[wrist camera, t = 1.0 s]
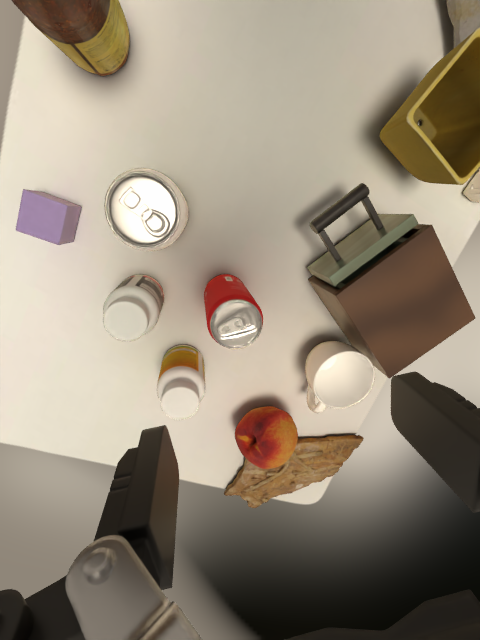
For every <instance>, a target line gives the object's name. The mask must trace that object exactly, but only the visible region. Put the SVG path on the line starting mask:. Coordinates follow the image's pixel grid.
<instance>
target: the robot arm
mask: <svg viewBox="0 0 480 640" xmlns="http://www.w3.org/2000/svg"><path fill="white" fill-rule="evenodd" d="M391 416H392V420H393V422H394V425H395V426H396V428H397V430H398V431H399V432H400V433H401V434H402V435H403V436H404V437H405V439H406V440H407V441H408V442H409V443H410V444H411V445H412V446H413V447H414V448H415V449H416V450H417V452H418V453H419V454H420V455H421V456H422V457H423V458H424V459H425V460H426V461H427V463H428V464H429V465H430V466H431V467H432V468H433V469H434V470H435V471H436V472H437V473H438V475H439V476H440V477H441V478H442V479H443V480H444V481H445V482H446V483H447V484H448V485H449V487H450V488H451V489H452V490H453V491H454V492H455V493H456V494H457V495H458V496H459V497H460V499H461V500H462V501H463V502H464V503H465V504H466V505H467V506H468V507H469V508H470V510H471V511H472V512H479V511H480V408H477V407H476V406H475V405H474V404H473V403H471V402H470V401H468V400H467V401H466V399H465V398H464V397H462V396H461V395H460V394H458V393H457V392H456V391H454V390H453V389H450V388H448V387H445V386H443V385H440V384H438V383H435V382H434V383H432V382H430V381H429V380H427V379H426V378H425V377H423V376H422V375H420V374H419V373H417V372H410V373H406V374H401V375H397V376H393V377H392V380H391ZM178 487H179V470H178V463H177V459H176V456H175V452H174V449H173V446H172V442H171V439H170V436H169V432H168V429H167V427H166V426H165V425H164V426H159V427H154V428H150V429H145V430H143V431H142V433H141V437H140V441H139V445H138V447H137V448H132V449H128V450H127V452H126V453H125V454H124V456H123V457H122V458H121V460H120V461H119V462H118V465H117V468H116V471H115V475H114V480H113V481H112V484H111V487H110V492H109V494H108V497H107V500H106V503H105V507H104V510H103V513H102V517H101V520H100V523H99V526H98V529H97V533H96V536H95V539H94V542H93V543H91V544H90V545H89V546H87V547H86V548H85V549H84V550H83V551H82V552H81V553H80V554H79V555H78V557H77V558H76V559H75V560H74V562H73V564H72V565H71V567H70V569H69V572H68V574H67V575H66V576H65V577H63V578H62V579H60V580H59V581H57V582H55V583H53V584H51V585H50V586H48V587H46V588H44V589H43V590H41V591H39V592H37V593H35V594H33V595H32V596H30V597H28V598H26V599H24V598H23V597H22V595H21V594H20V593H19V592H18V591H16V590H12V589H8V590H2V591H0V640H202V638H201V637H200V635H199V634H198V632H197V631H196V630H195V628H194V627H193V625H192V624H191V623H190V621H189V620H188V618H187V617H186V616H185V614H184V613H183V611H182V610H181V609H180V608H179V606H178V605H177V604H176V603H175V602H172V603H171V602H170V601H169V600H168V599H167V598H166V596H165V595H164V593H163V592H162V590H164V589H167V588H172V579H173V564H174V549H175V531H176V517H177V503H178ZM284 640H480V603H479V601H478V600H477V598H476V597H475V596H474V594H473V593H472V591H471V590H466V591H462V592H458V593H455V594H451V595H447V596H443V597H440V598H436V599H433V600H429V601H425V602H424V603H422V604H421V605H420V606H418V607H417V608H416V609H414V610H413V611H412V612H410V613H409V614H408V615H406V616H405V617H404V618H402V619H401V620H400V621H398V622H397V623H396V624H394V625H393V626H392V627H390V628H389V629H387V630H384V631H373V630H358V629H344V628H325V629H321V630H318V631H314V632H310V633H307V634H303V635H299V636H296V637H292V638H288V639H284Z"/></svg>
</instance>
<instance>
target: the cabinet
mask: <svg viewBox="0 0 480 640" xmlns="http://www.w3.org/2000/svg"><path fill="white" fill-rule="evenodd" d="M401 237H404V238H408V239H407V240H405V241H404V242H403V243H401V244H400V245H399V246H397V247H396V248H394V249H393V250H392V251H390V252H389V253H388V254H386V255H385V256H384V257H382V258H381V259H380V260H378V261H377V262H376V263H374V264H373V265H372V266H370V267H369V268H368V269H366V270H365V271H363V272H362V273H361V274H359V275H358V276H357V277H355V278H354V279H353V280H351V281H350V282H349V283H347V284H346V285H345V286H343V287H342V288H341V289H339V290H338V289H336V288H335V287H333V286H331V285H329V284H327V283H325V282H324V281H323V280H321V279H319V278H318V277H316V276H314V275H313V276H312V277H311V278H309V279H308V281H309V282H310V284H311V285H312V287H313V288H314V290H315V291H316V293H317V294H318V296H319V297H320V299H321V300H322V302H323V303H324V305H325V306H326V308H327V309H328V310H329V312H330V313H331V315H332V316H333V318H334V319H335V321H336V322H337V324H338V325H339V327H340V328H341V330H342V331H343V333H344V334H345V336H346V337H347V339H348V340H349V342H350V343H351V345H352V346H353V347H354V348H356V349H358V350H359V351H360V352H362V353H363V354H364V355H365V356H366V357H367V358H368V359H369V360H370V361H371V362H372V364H373V365H374V366H375V367H376V368H378V369H379V370H380V371H381V372H382V373H383V374H385V375H386V376H387V377H388V378H391V377H392V376H394V375H395V374H396V373H398V372H399V371H401V370H402V369H403V368H405V367H407V366H408V365H409V364H411V363H412V362H414V361H415V360H417V359H418V358H419V357H421V356H422V355H423V354H425V353H426V352H428V351H429V350H431V349H432V348H434V347H435V346H437V345H438V344H439V343H441V342H442V341H444V340H445V339H446V338H448V337H449V336H451V335H452V334H454V333H455V332H456V331H458V330H459V329H461V328H462V327H464V326H465V325H467V324H468V323H469V322H471V321H472V320H474V319H475V316H474V314H473V312H472V310H471V307H470V305H469V303H468V301H467V299H466V297H465V295H464V292H463V290H462V288H461V286H460V284H459V282H458V280H457V278H456V276H455V273H454V271H453V269H452V267H451V265H450V263H449V261H448V258H447V256H446V254H445V252H444V250H443V248H442V246H441V244H440V241H439V239H438V237H437V235H436V233H435V231H434V229H433V226H432V225H425V224H417V225H416V226H415V227H413V228H412V229H411V230H409V231H408V232H407V233H405V234H404V235H403V236H401Z"/></svg>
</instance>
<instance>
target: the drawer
mask: <svg viewBox="0 0 480 640" xmlns="http://www.w3.org/2000/svg"><path fill="white" fill-rule="evenodd" d="M368 195H369V189H368V187H367V186H366V185H365V184H363V183H361V184H359V185H358V186H357V187H356V188H354V189H353V190H352V191H350V192H349V193H348V194H347V195H345V196H344V197H343V198H341V199H340V200H339V201H337V202H336V203H335V204H334V205H332V206H331V207H330V208H328V209H327V210H326V211H325V212H323V213H322V214H321V215H319V216H318V217H317V218H315V219H314V220H313V221H312V222H310V227H311V228H312V230H313V231H314V232H315V233H316V234H319V236H320V237H321V239H322V241H323V242H324V244H325V246H326V247H327V249H328V250H329V251H328V252H327V253H325V254H324V255H323V256H321V257H320V258H319V259H317V260H316V261H315V262H313V263H312V264H311V265H309V266H308V267H307V268H308V270H309V271H310V273H311V274H312V275H314V276H316V277H318V278H319V279H321V280H323V281H324V282H325V283H327V284H329V285H331V286H333V287H335V288H336V289H338V290H339V289H341V288H342V287H343V286H345V285H346V284H347V283H349V282H350V281H351V280H353V279H354V278H355V277H357V276H358V275H359V274H361V273H362V272H363V271H365V270H366V269H368V268H369V267H370V266H372V265H373V264H374V263H376V262H377V261H378V260H380V259H381V258H382V257H384V256H385V255H386V254H388V253H389V252H390V251H392V250H393V249H394V248H396V247H397V246H399V245H400V244H401V243H403V242H404V241H405V240H407V239H408V238H404V237H401V236H403V235H404V234H405V233H407V232H408V231H409V230H411V229H412V228H413V227H415V226H416V225H417V224H418V222H417V220H416V218H415V216H414V214H377V213H376V211H375V209H374V207H373V205H372V203H371V201H370V199H369V197H368ZM360 201H362V203H363V205H364V207H365V209H366V211H367V212H368V214H369V216H370V218H371V219H370V220H369V221H367V222H366V223H365V224H364V225H362V226H361V227H360V228H358V229H357V230H356V231H354V232H353V233H352V234H350V235H349V236H348V237H346V238H345V239H344V240H342V241H341V242H340V243H338V244H337V245H336V246H334V245H333V243H332V242H331V240H330V238H329V237H328V235H327V234H326V232H325V230H323V229H325V228H326V227H327V226H328V225H330V224H331V223H332V222H334V221H335V220H336V219H338V218H339V217H340V216H341V215H343V214H344V213H345V212H347V211H348V210H349V209H351V208H352V207H353V206H355V205H356V204H357V203H358V202H360Z"/></svg>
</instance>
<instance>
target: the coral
mask: <svg viewBox="0 0 480 640" xmlns="http://www.w3.org/2000/svg"><path fill="white" fill-rule="evenodd" d="M447 8H448V13H449V17H450V20H451V22H452V24H453V26H454V37H453V39H454V48H455V47H456V46H457V45H459V44H460V43H461V42H462V41H463V40H465V39H466V38H467V37H468V36H469V35H471V34H472V33H473V32H474V31H475V30H476V29H478V28H480V0H447Z"/></svg>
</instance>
